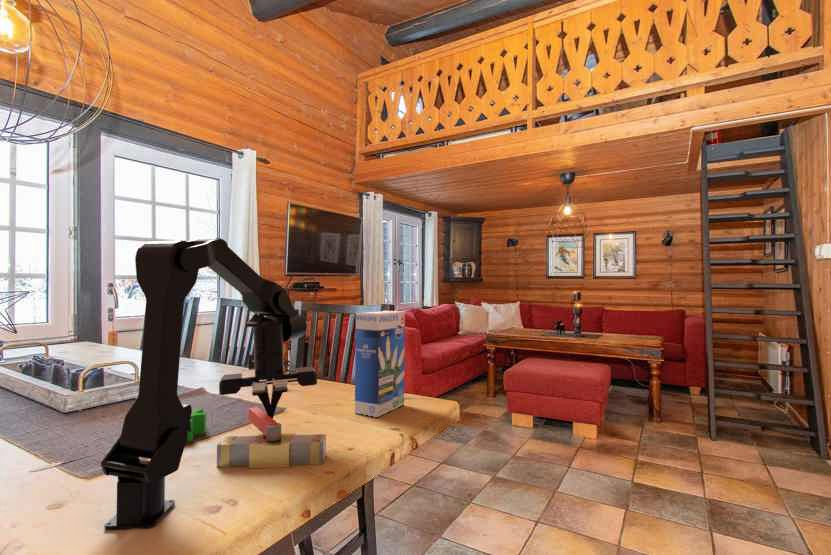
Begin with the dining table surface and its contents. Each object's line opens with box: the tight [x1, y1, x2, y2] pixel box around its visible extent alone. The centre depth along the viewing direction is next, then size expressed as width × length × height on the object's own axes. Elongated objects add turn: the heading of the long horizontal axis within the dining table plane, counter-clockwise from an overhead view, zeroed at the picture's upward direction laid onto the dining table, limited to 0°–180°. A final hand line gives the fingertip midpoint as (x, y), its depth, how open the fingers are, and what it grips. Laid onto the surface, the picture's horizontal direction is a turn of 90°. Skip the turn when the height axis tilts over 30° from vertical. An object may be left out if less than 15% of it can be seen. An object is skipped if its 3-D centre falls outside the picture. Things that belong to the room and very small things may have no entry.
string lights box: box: [354, 310, 406, 418], centre depth 113 cm, size 13×8×26 cm, turn 150°
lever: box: [248, 406, 282, 441], centre depth 85 cm, size 14×3×3 cm, turn 37°
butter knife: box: [28, 461, 63, 473], centre depth 86 cm, size 1×27×3 cm
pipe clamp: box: [187, 408, 207, 442], centre depth 92 cm, size 11×4×5 cm, turn 173°
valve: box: [216, 432, 327, 469], centre depth 80 cm, size 6×19×4 cm, turn 95°
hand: (270, 421), depth 88 cm, fingers closed
